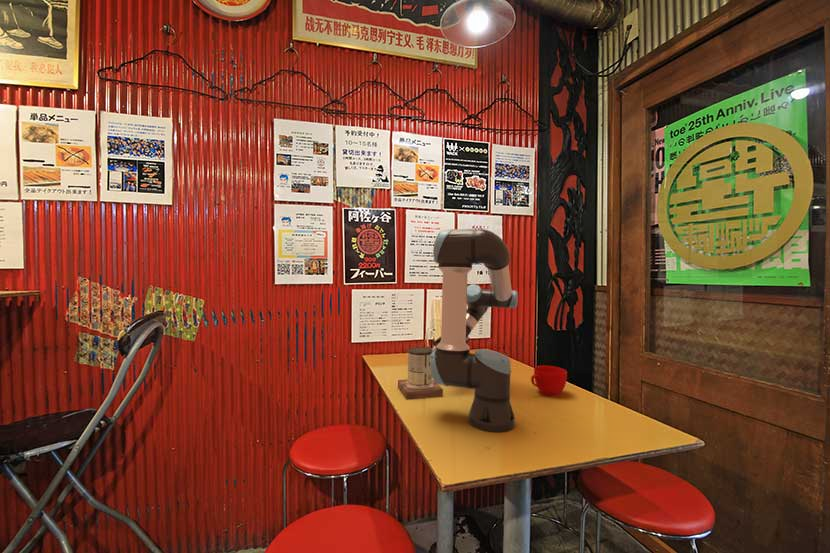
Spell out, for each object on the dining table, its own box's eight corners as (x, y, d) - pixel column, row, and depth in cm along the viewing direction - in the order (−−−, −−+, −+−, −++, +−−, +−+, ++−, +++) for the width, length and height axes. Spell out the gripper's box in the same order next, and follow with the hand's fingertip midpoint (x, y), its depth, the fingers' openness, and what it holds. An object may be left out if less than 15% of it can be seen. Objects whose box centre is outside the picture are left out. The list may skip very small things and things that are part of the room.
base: (442, 396, 142) (442, 388, 142) (406, 399, 138) (406, 390, 138) (430, 384, 157) (431, 377, 157) (397, 387, 153) (398, 379, 153)
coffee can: (408, 378, 153) (409, 346, 153) (432, 380, 152) (433, 347, 152) (405, 386, 143) (406, 351, 143) (431, 388, 142) (432, 352, 142)
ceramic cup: (519, 392, 150) (520, 368, 150) (548, 386, 158) (549, 364, 157) (543, 402, 138) (544, 376, 138) (573, 396, 146) (574, 372, 146)
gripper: (488, 335, 150) (460, 376, 143) (452, 326, 171) (426, 361, 164) (479, 324, 147) (449, 364, 140) (443, 316, 169) (416, 351, 161)
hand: (436, 363), depth 152 cm, fingers open, 13 cm apart
